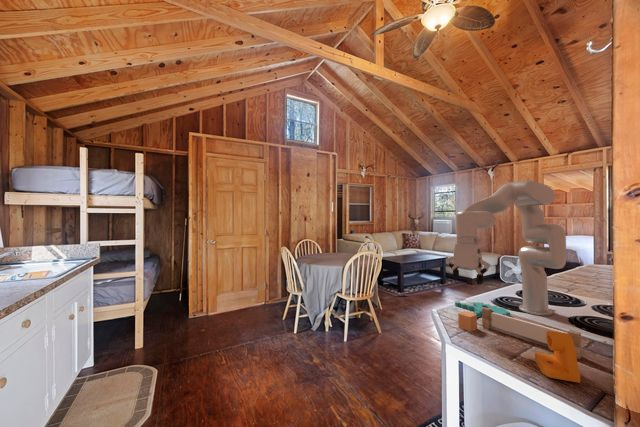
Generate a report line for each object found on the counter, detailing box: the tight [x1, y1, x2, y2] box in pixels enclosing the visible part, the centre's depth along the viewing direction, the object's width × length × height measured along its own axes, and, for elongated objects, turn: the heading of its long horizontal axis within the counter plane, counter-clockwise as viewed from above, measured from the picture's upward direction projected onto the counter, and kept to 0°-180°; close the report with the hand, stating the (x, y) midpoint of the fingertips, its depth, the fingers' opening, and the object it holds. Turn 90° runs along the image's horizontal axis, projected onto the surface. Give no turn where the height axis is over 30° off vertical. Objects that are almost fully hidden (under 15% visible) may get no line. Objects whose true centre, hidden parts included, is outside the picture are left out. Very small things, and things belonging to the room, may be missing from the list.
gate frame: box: [481, 307, 583, 360], centre depth 97 cm, size 3×30×8 cm, turn 32°
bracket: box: [534, 331, 581, 384], centre depth 78 cm, size 11×7×12 cm, turn 156°
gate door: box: [492, 312, 568, 343], centre depth 97 cm, size 2×24×6 cm, turn 31°
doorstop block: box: [457, 310, 478, 333], centre depth 109 cm, size 5×5×6 cm
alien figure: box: [454, 301, 511, 318], centre depth 125 cm, size 20×2×20 cm
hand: (467, 281), depth 108 cm, fingers open, 9 cm apart
